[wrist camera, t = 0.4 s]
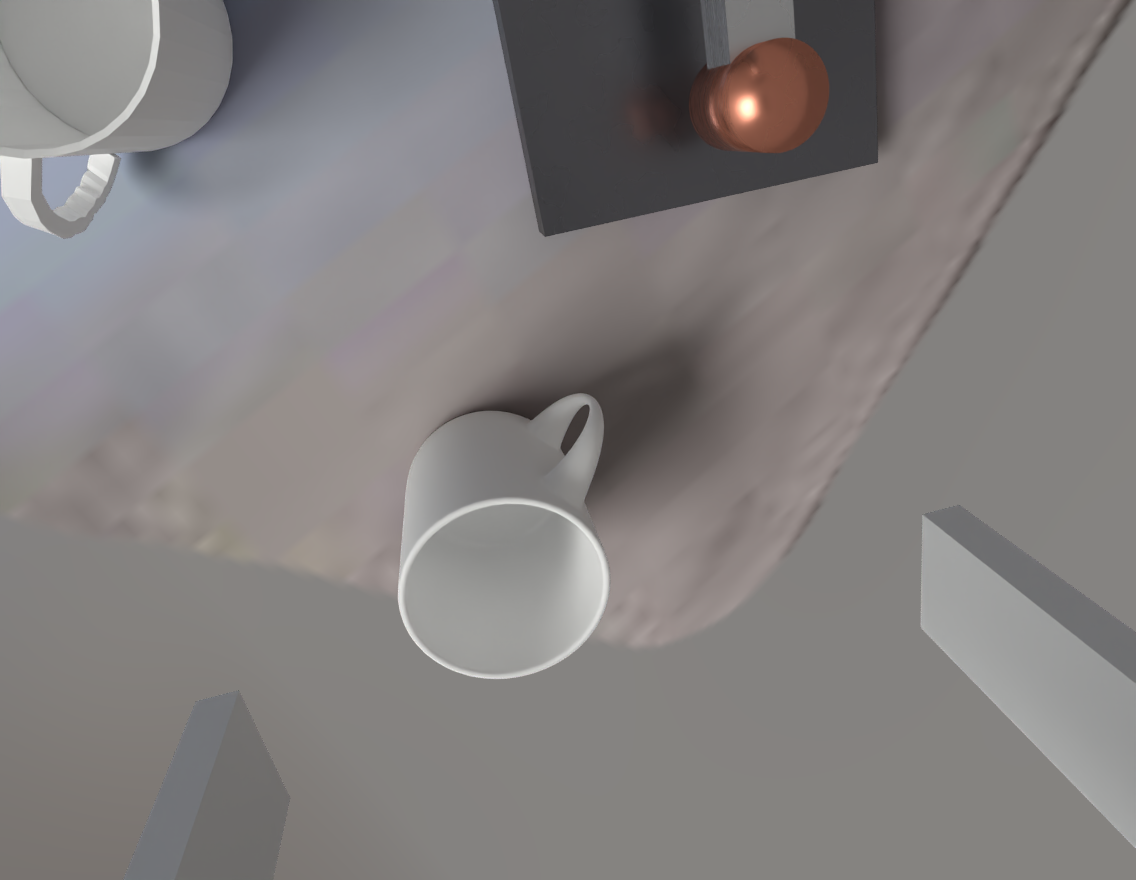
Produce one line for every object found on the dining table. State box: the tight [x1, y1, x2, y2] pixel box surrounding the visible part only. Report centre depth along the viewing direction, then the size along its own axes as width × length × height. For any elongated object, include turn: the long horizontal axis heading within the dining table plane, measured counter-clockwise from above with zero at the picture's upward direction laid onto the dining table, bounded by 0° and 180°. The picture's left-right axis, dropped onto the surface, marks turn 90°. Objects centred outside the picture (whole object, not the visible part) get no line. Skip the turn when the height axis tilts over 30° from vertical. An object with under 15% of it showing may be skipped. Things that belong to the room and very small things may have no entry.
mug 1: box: [0, 0, 233, 239], centre depth 26 cm, size 12×9×9 cm
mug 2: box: [398, 393, 610, 679], centre depth 35 cm, size 9×12×11 cm
